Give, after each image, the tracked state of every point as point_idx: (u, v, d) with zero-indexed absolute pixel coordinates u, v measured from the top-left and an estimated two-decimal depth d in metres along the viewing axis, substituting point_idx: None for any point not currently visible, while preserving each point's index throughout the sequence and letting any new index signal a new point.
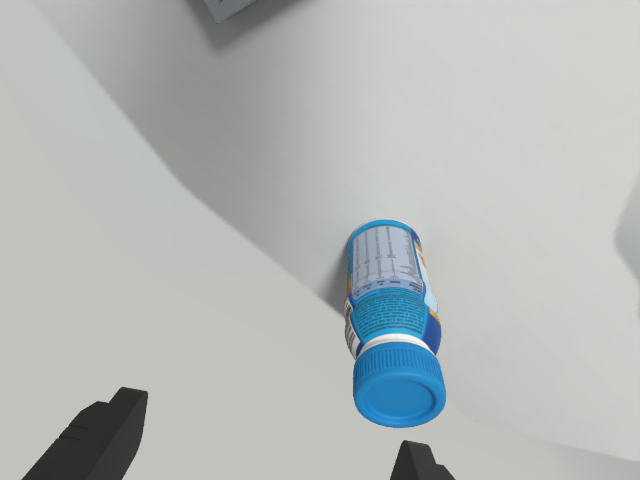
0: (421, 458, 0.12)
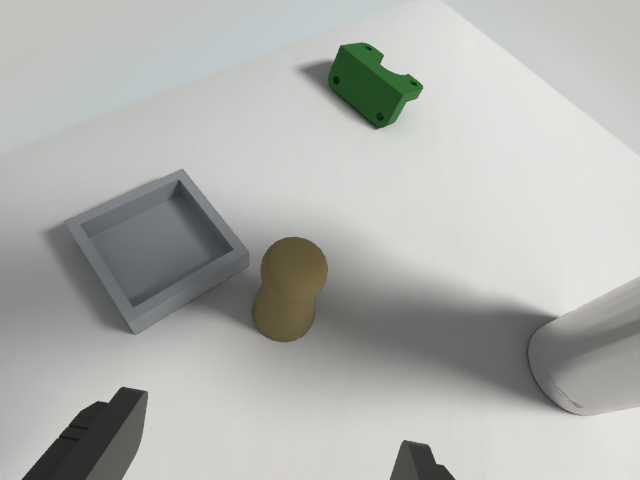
0: (421, 458, 0.12)
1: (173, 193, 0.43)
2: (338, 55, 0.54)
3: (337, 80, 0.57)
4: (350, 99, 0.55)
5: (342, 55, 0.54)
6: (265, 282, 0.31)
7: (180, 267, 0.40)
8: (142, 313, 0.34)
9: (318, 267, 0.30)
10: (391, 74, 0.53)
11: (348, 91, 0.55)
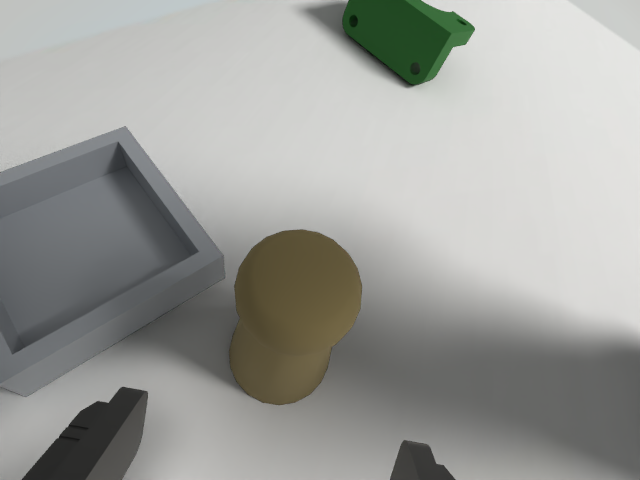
0: (421, 458, 0.12)
1: (112, 165, 0.28)
2: None
3: (354, 22, 0.42)
4: (372, 47, 0.40)
5: None
6: (242, 317, 0.16)
7: (114, 281, 0.25)
8: (28, 364, 0.19)
9: (347, 289, 0.15)
10: (431, 9, 0.38)
11: (370, 36, 0.40)
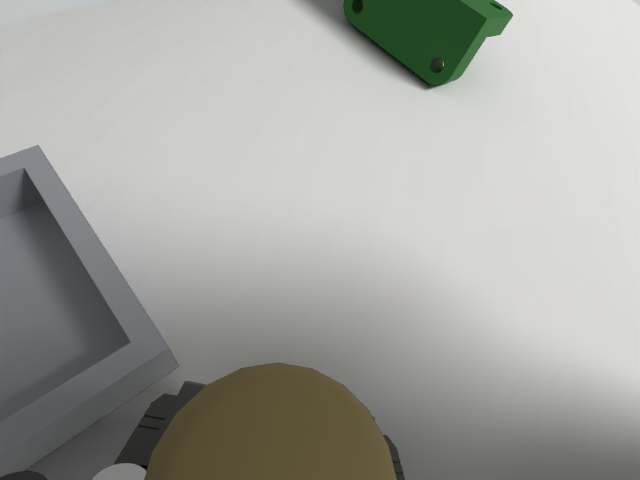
0: None
1: (21, 199, 0.20)
2: None
3: (358, 8, 0.33)
4: (382, 38, 0.32)
5: None
6: None
7: (5, 382, 0.16)
8: None
9: None
10: None
11: (379, 24, 0.32)
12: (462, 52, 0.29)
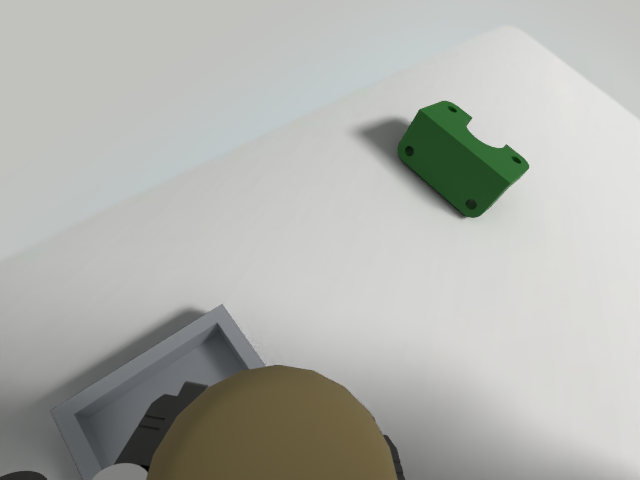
0: None
1: (208, 337, 0.30)
2: (415, 121, 0.41)
3: (409, 149, 0.43)
4: (428, 177, 0.42)
5: (420, 121, 0.40)
6: None
7: None
8: None
9: None
10: (488, 149, 0.39)
11: (426, 167, 0.42)
12: (491, 200, 0.39)
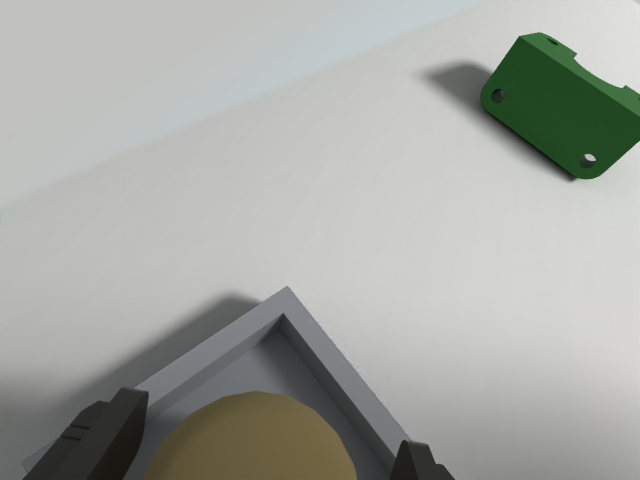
0: (420, 457, 0.12)
1: (265, 335, 0.20)
2: (510, 54, 0.31)
3: (495, 96, 0.34)
4: (523, 129, 0.32)
5: (519, 53, 0.31)
6: None
7: None
8: None
9: None
10: (611, 87, 0.30)
11: (521, 116, 0.32)
12: (619, 153, 0.29)
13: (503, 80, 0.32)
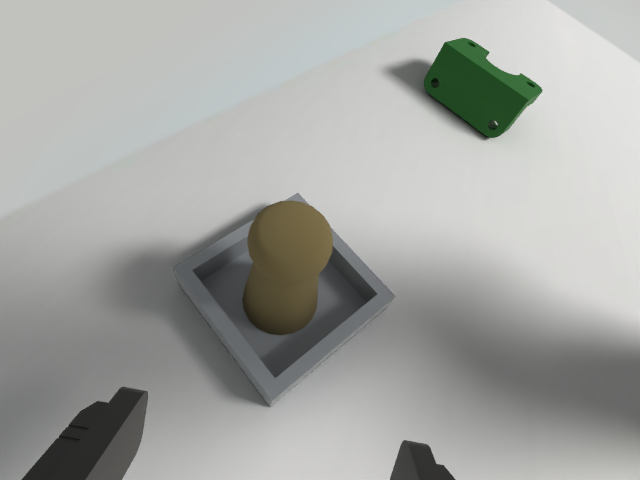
0: (421, 458, 0.12)
1: None
2: (440, 54, 0.46)
3: (434, 83, 0.49)
4: (452, 105, 0.47)
5: (446, 53, 0.46)
6: (253, 258, 0.24)
7: None
8: (287, 385, 0.27)
9: (321, 237, 0.24)
10: (506, 75, 0.45)
11: (450, 96, 0.47)
12: (511, 118, 0.44)
13: (437, 72, 0.47)
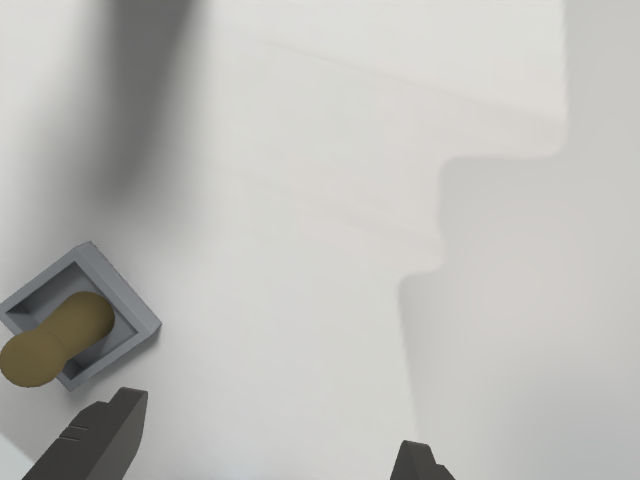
0: (421, 458, 0.12)
1: (22, 312, 0.45)
2: None
3: None
4: None
5: None
6: (49, 381, 0.38)
7: None
8: (142, 325, 0.44)
9: (25, 350, 0.35)
10: None
11: None
12: None
13: None
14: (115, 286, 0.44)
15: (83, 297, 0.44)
